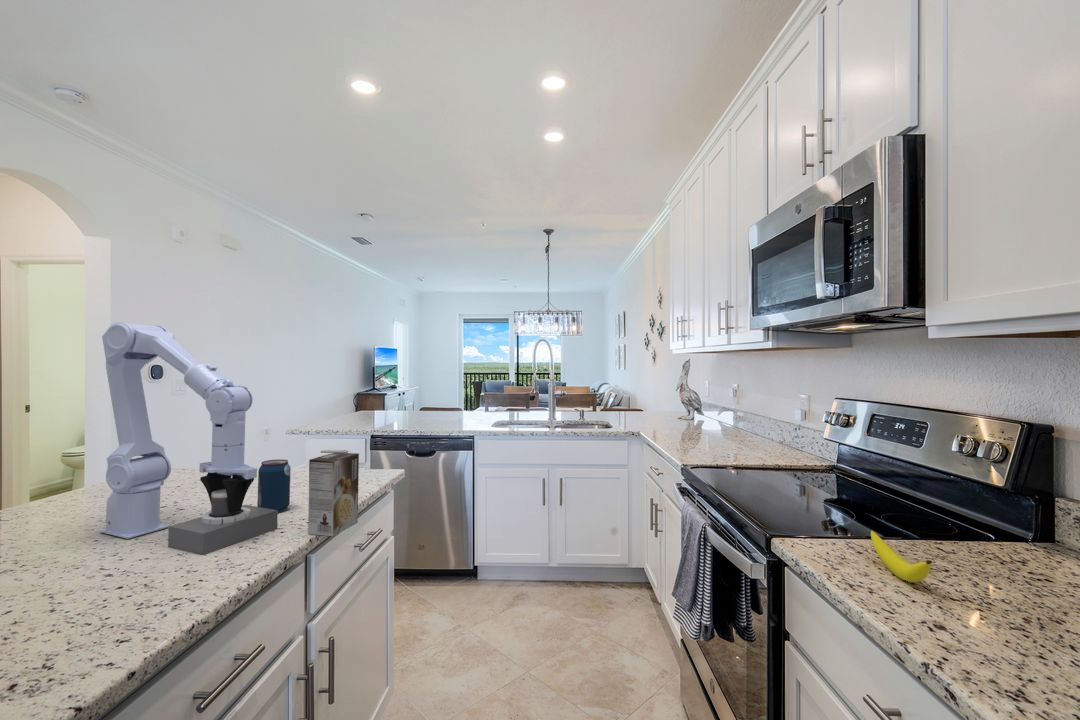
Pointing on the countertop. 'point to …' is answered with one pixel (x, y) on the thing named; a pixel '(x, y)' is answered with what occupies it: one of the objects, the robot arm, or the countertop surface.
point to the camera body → (221, 529)
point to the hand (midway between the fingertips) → (226, 510)
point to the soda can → (274, 485)
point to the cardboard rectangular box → (333, 493)
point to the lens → (220, 504)
